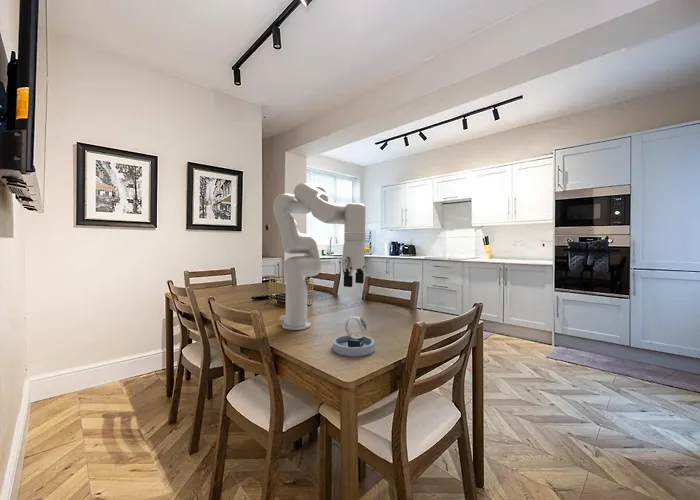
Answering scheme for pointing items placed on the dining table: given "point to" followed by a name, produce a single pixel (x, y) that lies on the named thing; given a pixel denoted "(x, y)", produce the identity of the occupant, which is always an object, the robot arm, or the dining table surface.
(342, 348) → the dish
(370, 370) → the dining table surface
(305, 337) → the dining table surface
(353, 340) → the watch
